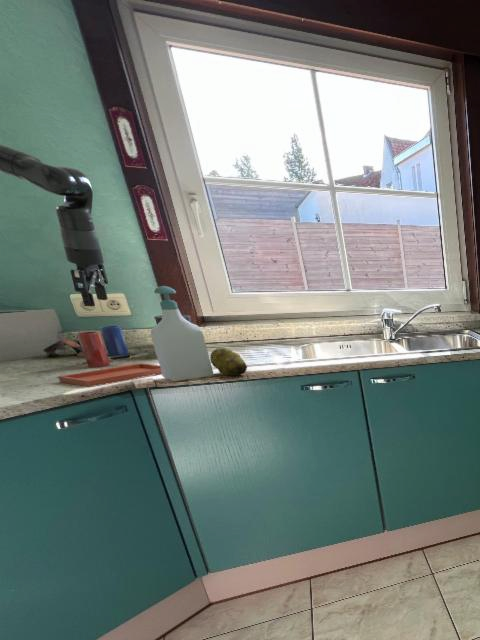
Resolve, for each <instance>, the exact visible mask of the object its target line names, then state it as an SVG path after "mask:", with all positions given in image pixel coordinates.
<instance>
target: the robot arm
mask: <svg viewBox="0 0 480 640" xmlns="http://www.w3.org/2000/svg"><path fill="white" fill-rule="evenodd" d="M0 173H2V174H5V175H8V176H11V177H14V178H16V179H19V180H21V181H24V182H28V183H29V184H31V185H33V186H35V187H36V188H39V189H41V190H43V191H45V192H47V193H50V194H53V195H57V196H61V197H63V202H62V203H61V204H58V205H56V206H55V214H56V215H55V216H56V218H57V223H58V227H59V230H60V231H59V233H60V239H61V242H62V246H63V249H64V253H65V257H66V260H67V262H68V263H71V264H74V265H75V266H76V269H70V276H71V279H72V282H73V288H74V291H75V292H78V293H80V295H81V299H82V302H83V305H84V306H86V307H95V306H96V303H95V300H94V296H93V287H94V291H95V294H96V299H97V300H99V301H107V300H108V293H107V290H106V287H107V285H108V284H109V280H108V276H107V273H106V268H105V265H104V264H105V261H104V256H103V253H102V248H101V244H100V241H99V237H98V234H97V232H96V229H95V228H96V227H95V223H94V219H93V217H92V210H93V201H94V199H93V198H94V192H93V191H94V190H93V185H92V183H91V182H90V179H89V177H87V175H85V173H84V172H82V171H81V170H79V169H77V168H73V167H66V166H55V165H50V164H47V163H44V162H43V160H41V159H40V158H38V157H36V156H34V155H32V154H29V153H27V152H24V151H21V150H18V149H16V148H13V147H10V146H7V145H5V144H2V143H0Z"/></svg>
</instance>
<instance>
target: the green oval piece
mask: <svg viewBox="0 0 480 640" xmlns="http://www.w3.org/2000/svg"><path fill="white" fill-rule="evenodd" d="M209 359H210V362H211V365H212V367H213V366H214V368H216V369H217V370H218V372H219V373H220V374H222V375H224V376H231V377H234V376H241V375H243V374H245V373H246V372H247V369H248V365H247V364H246V362H245V360H244V359H243V358H242V357H241V355H240V354H239V353H237V352H235V351H233V350H232V349H230V348H226V347H219V348H216V349H214V350H212V351H211V352H210V355H209Z"/></svg>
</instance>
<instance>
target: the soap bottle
mask: <svg viewBox="0 0 480 640" xmlns="http://www.w3.org/2000/svg"><path fill="white" fill-rule="evenodd" d="M176 293H177V291H176V290H175V289H174V288H172V287H170V286H167V285H162V286H161V285H159V286H158V287H156V288H155V289H154V294H158V295H159V294H161V295H163V298H164V299H163V300H160V301H161V302H159V304H160V308H161V315H162V320H161V321H160V322H159V323H158V325H157V324H156V325H155V326H154V327H152V328H151V329H150V337H151V338H150V339H151V341H152V345H153V348H154V351H155V354H156V358H157V361H158V364H159V366H160V368H161V371H162V374H161V375H162V377H163V378H164V379H167V380H170V381H173V382H178V381H185V380H192V379H197V378H205V377H213V376H214V370H213V365H212V363H211V360H210V355H209V351H208V348H207V344H206V340H205V336H204V333H203V332H202V329H201V328H200V326H199V325H197V324H195V323H192V322H191V323H190V322H189V321H187V320H186V319H185V318H183V317H182V316H181V315H182V313H181V311H180V309H179V305H178V303H177V301H175V300H174V299H170V295H169V294H176Z"/></svg>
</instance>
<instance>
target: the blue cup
mask: <svg viewBox="0 0 480 640" xmlns="http://www.w3.org/2000/svg"><path fill="white" fill-rule="evenodd" d="M99 330H100V331H99V332H100V335H101V338H102V341H103V344H104V347H105V349H106V352H107V355H108V357H109V360H124V359H125V360H126V359H130V358H131V355H130V352H129V347H128V345H127V343H126V338H125V336H124V333H123V330H122V327H121V325H105V326H103V325H102V326H99Z"/></svg>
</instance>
